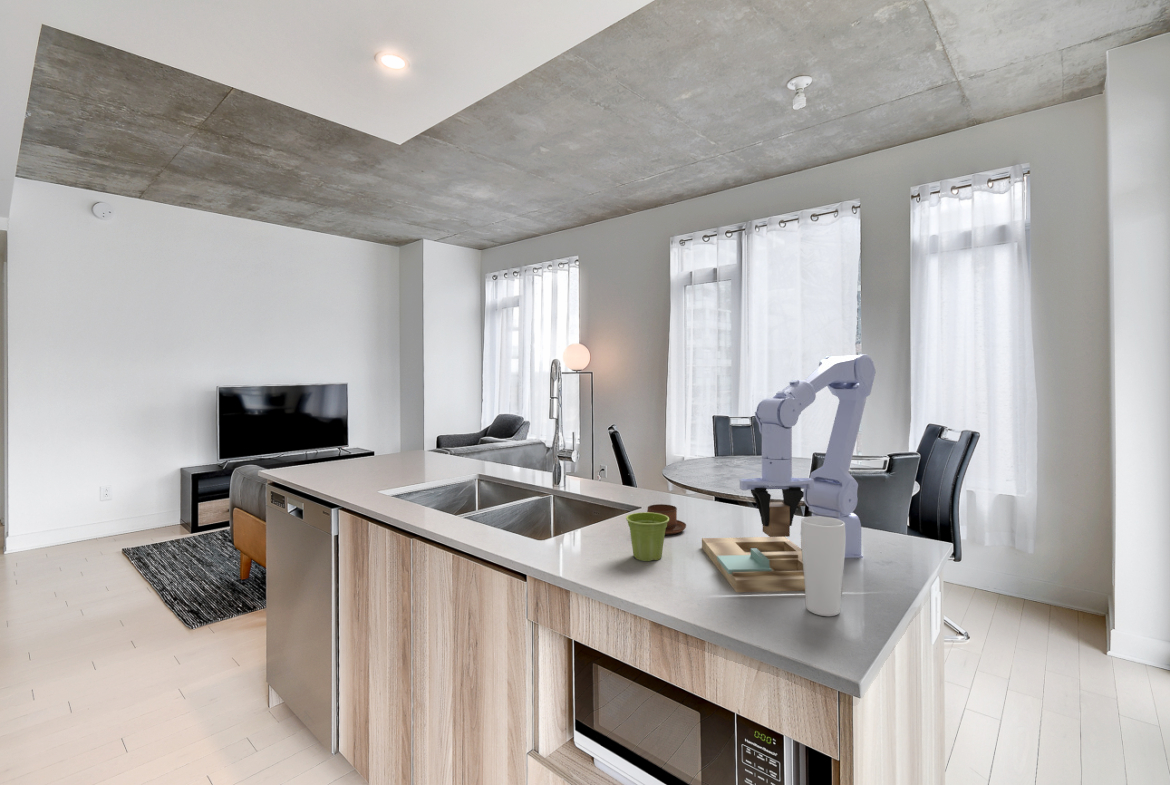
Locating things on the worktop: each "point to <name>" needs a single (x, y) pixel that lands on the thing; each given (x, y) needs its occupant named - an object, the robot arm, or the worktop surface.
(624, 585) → the worktop surface
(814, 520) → the drinking glass
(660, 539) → the plant pot
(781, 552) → the board
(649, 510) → the cup and saucer
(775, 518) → the block
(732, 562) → the lid
